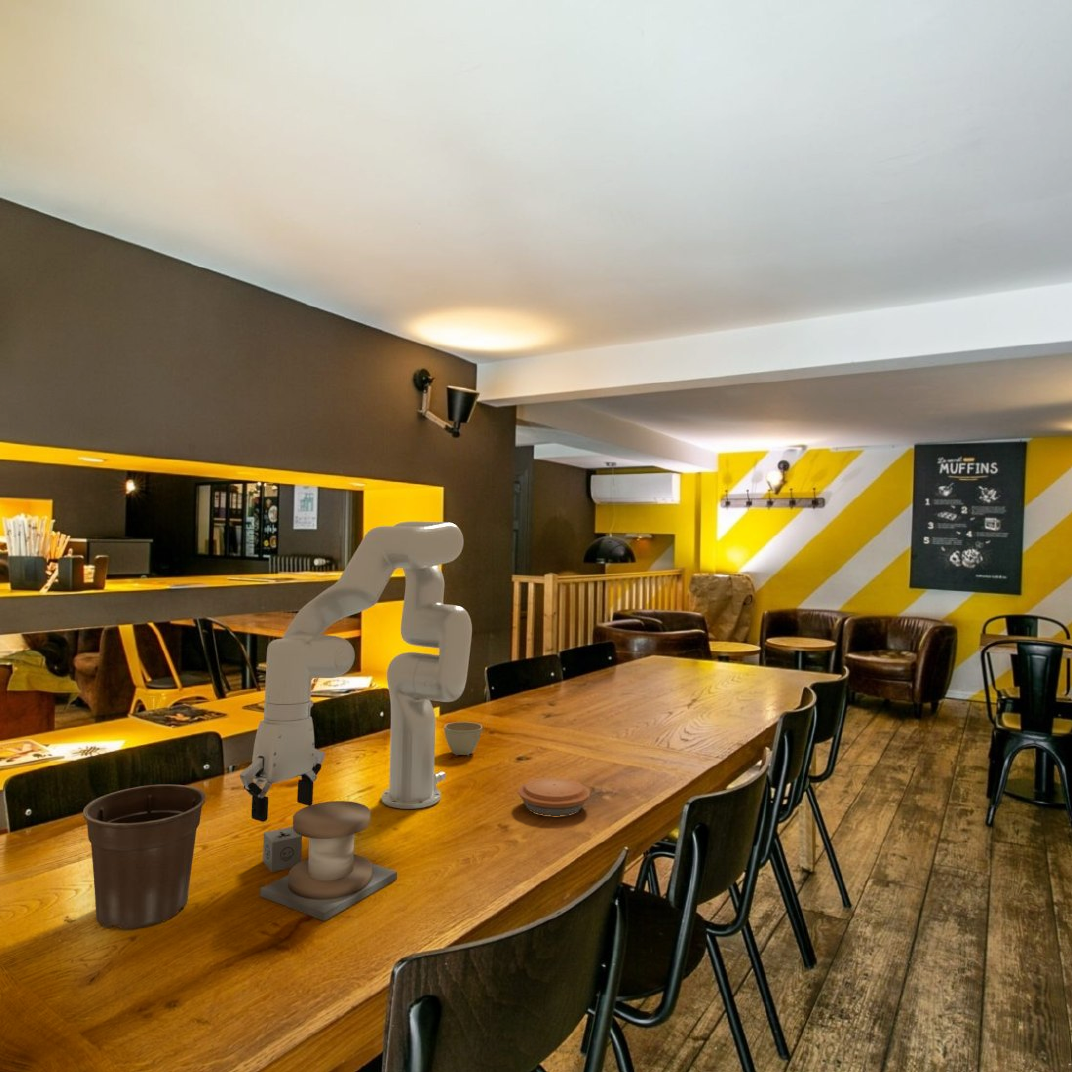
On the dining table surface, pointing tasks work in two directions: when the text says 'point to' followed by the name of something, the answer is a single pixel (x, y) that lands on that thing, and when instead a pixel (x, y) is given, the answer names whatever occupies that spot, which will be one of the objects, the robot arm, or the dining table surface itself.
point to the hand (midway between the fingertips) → (282, 811)
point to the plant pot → (142, 852)
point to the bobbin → (329, 863)
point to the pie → (553, 795)
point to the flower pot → (462, 737)
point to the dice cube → (282, 849)
